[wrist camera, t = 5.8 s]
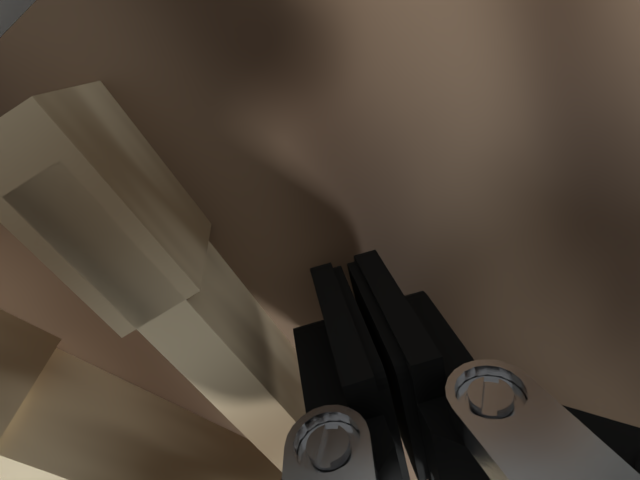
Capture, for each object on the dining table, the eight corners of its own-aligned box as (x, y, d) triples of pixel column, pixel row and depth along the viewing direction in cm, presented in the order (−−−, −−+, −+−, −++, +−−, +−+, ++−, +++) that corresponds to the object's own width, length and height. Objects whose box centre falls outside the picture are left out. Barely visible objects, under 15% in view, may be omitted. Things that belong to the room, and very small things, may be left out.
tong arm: (405, 474, 15) (442, 570, 12) (365, 495, 15) (393, 595, 12) (100, 80, 8) (31, 96, 6) (33, 124, 8) (-65, 160, 6)
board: (574, -523, 7) (625, -610, 6) (786, 306, 16) (818, 321, 15) (-210, 278, 10) (-256, 302, 9) (352, 589, 19) (357, 616, 18)
